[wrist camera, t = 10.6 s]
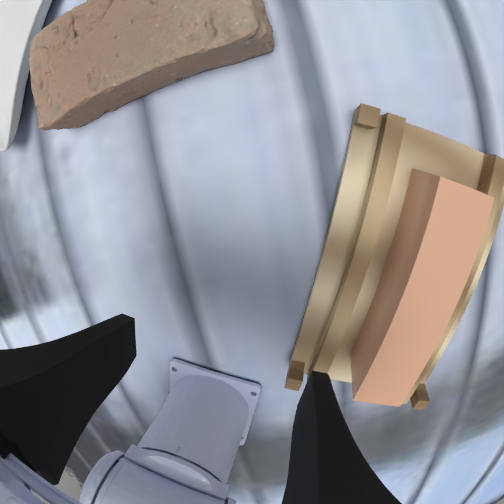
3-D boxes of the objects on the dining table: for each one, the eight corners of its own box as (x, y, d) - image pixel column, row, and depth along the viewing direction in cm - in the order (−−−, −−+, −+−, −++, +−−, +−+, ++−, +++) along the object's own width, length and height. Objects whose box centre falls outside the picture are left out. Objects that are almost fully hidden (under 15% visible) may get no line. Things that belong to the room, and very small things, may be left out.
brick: (250, -40, 14) (232, -76, 9) (281, 55, 16) (268, 29, 12) (65, 47, 18) (25, 40, 14) (76, 132, 20) (33, 136, 16)
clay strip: (390, 362, 20) (399, 406, 16) (350, 355, 20) (352, 400, 16) (457, 184, 15) (494, 197, 11) (412, 168, 15) (440, 176, 11)
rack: (416, 384, 21) (423, 410, 18) (289, 361, 23) (284, 387, 20) (504, 166, 14) (529, 171, 12) (354, 110, 16) (361, 103, 13)
